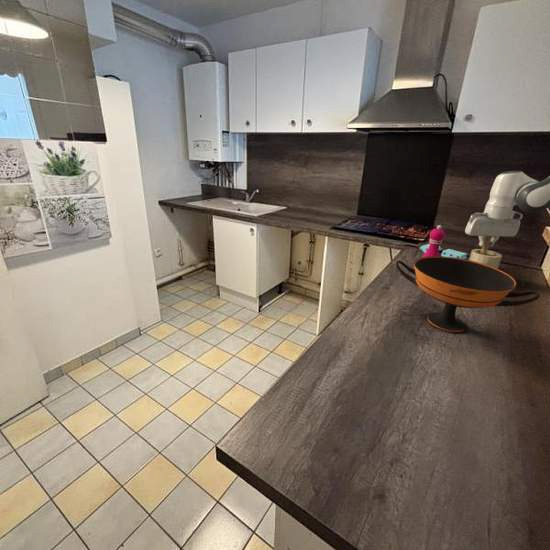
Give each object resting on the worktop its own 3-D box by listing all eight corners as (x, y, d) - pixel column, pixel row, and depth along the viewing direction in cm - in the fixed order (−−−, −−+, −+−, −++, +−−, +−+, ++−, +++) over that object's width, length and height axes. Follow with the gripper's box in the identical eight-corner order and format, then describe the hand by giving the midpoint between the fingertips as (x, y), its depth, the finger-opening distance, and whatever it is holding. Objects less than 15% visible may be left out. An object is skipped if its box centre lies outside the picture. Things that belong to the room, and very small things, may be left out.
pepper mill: (437, 266, 136) (449, 225, 128) (436, 271, 130) (448, 228, 123) (421, 263, 140) (431, 222, 132) (419, 268, 134) (430, 225, 126)
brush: (479, 268, 130) (490, 233, 123) (486, 272, 125) (499, 236, 119) (469, 267, 129) (480, 232, 123) (476, 271, 125) (488, 235, 119)
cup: (375, 320, 91) (385, 268, 84) (397, 292, 110) (407, 247, 103) (519, 369, 72) (548, 307, 65) (515, 325, 91) (538, 273, 84)
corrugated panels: (427, 248, 163) (418, 251, 158) (428, 243, 162) (419, 245, 156) (497, 267, 138) (489, 271, 133) (499, 261, 137) (491, 265, 132)
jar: (481, 272, 132) (489, 249, 127) (499, 282, 122) (508, 257, 118) (459, 271, 131) (466, 248, 127) (474, 281, 122) (483, 257, 117)
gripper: (477, 214, 114) (467, 247, 119) (527, 215, 115) (514, 248, 121) (467, 210, 120) (457, 243, 125) (514, 212, 121) (502, 244, 126)
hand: (485, 245), depth 123 cm, fingers closed on brush, 2 cm apart
